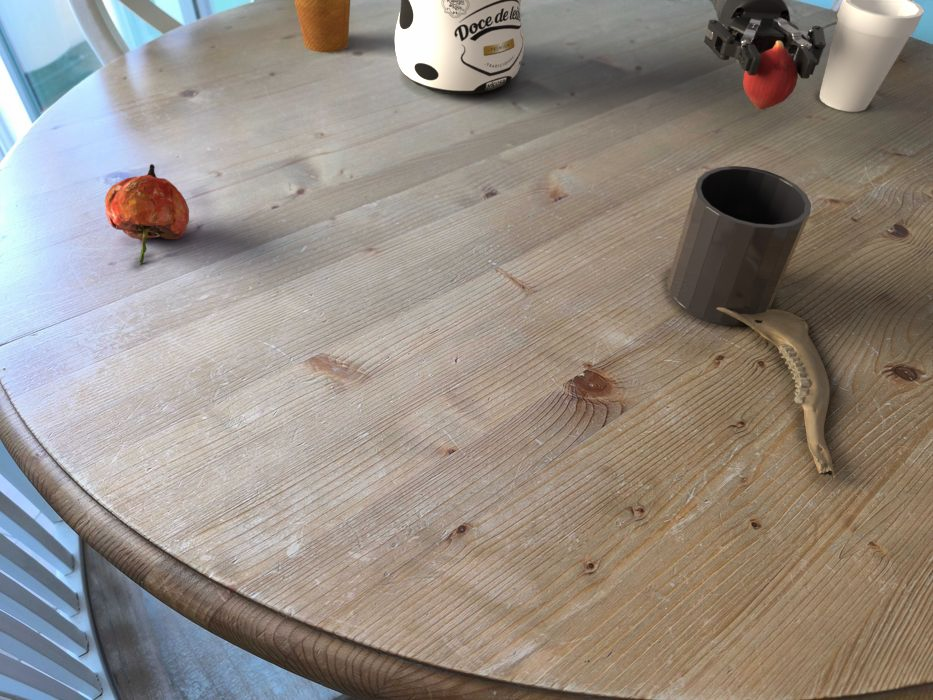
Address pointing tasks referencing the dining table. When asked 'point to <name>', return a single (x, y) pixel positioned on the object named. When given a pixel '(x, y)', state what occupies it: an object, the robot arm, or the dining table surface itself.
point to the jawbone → (799, 373)
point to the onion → (772, 78)
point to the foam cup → (865, 49)
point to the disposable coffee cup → (324, 24)
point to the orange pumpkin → (147, 208)
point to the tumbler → (736, 243)
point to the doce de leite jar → (460, 43)
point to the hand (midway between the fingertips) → (782, 68)
